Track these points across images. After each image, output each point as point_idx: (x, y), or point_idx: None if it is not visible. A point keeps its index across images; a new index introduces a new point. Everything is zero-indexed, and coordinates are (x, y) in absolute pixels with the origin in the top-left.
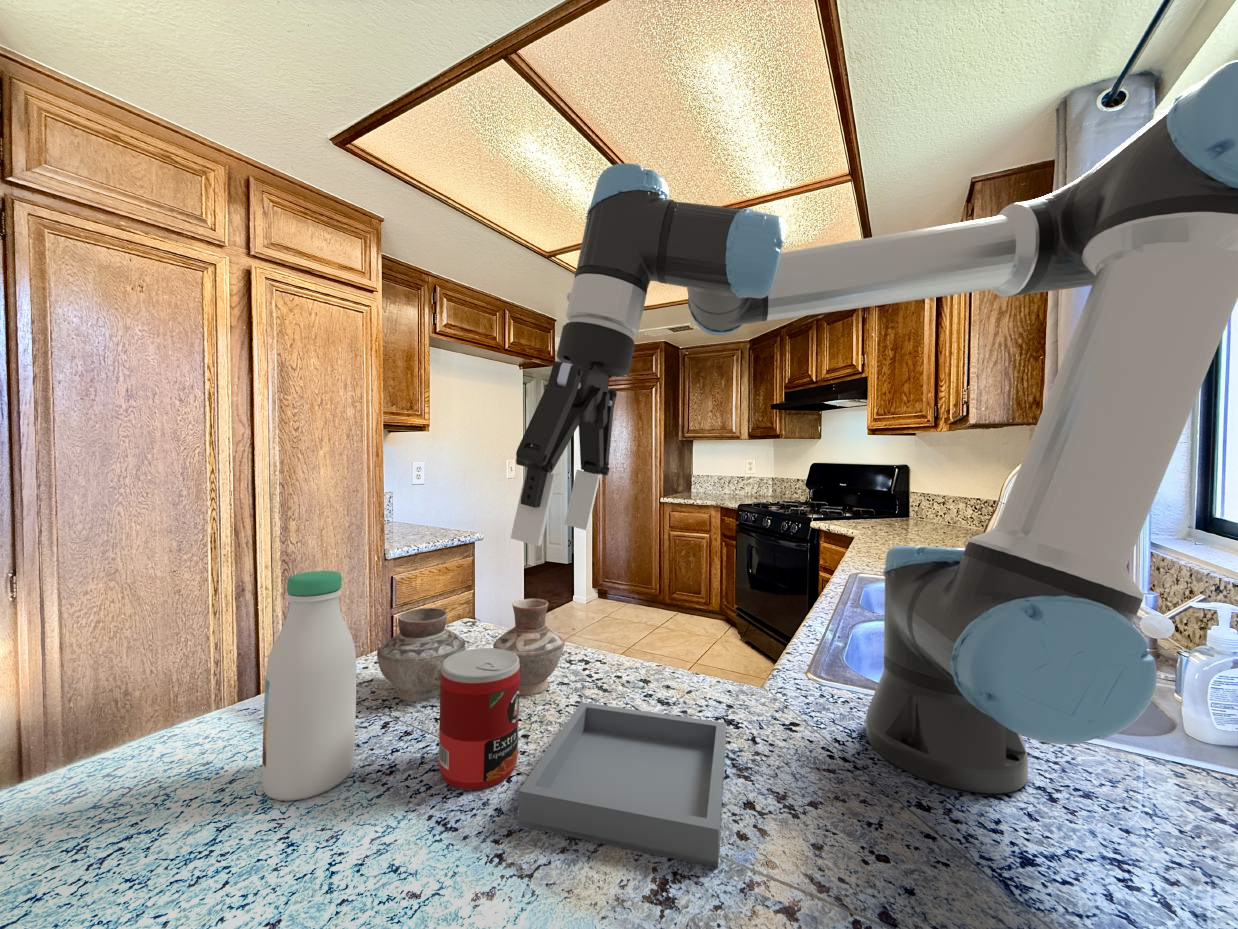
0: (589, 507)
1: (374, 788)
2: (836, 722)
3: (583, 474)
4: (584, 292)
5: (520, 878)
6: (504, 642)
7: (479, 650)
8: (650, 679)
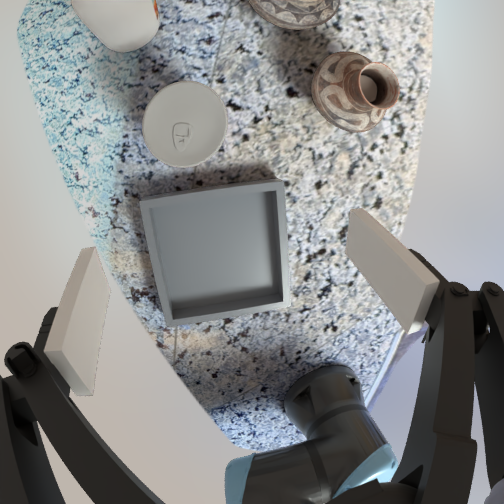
0: (367, 278)
1: (135, 75)
2: (343, 349)
3: (414, 298)
4: None
5: (110, 223)
6: (329, 69)
7: (214, 100)
8: (382, 207)
